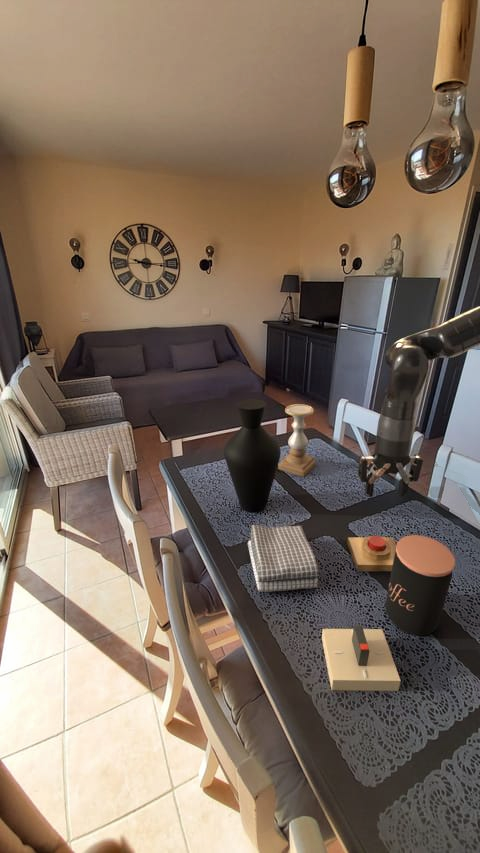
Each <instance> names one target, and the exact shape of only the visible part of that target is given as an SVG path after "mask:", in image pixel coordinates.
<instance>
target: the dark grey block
mask: <svg viewBox="0 0 480 853" xmlns="http://www.w3.org/2000/svg"><path fill="white" fill-rule="evenodd" d="M352 629H353V635H352V643H353V647H354V651H355V655H356V659H357V663H358V666H367V663H368V657H369V647H368V644H367V641H366V637H365V634H364V631H363V629H364V627H363V626H362V625H354V626H353V628H352Z"/></svg>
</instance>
